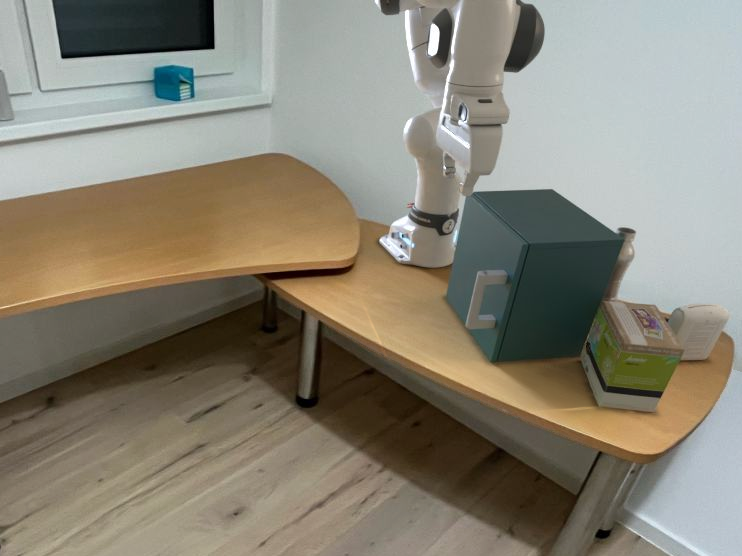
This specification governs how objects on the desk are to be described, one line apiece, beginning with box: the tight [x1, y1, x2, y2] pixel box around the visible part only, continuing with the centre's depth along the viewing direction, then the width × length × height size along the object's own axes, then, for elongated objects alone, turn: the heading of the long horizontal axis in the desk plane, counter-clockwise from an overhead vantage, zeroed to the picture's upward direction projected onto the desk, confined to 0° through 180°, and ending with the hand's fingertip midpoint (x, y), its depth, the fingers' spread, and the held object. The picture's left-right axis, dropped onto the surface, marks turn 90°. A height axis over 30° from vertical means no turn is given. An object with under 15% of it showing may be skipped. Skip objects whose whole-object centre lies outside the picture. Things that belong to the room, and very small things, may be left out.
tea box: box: [580, 300, 685, 413], centre depth 105 cm, size 15×10×15 cm
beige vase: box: [597, 226, 637, 313], centre depth 127 cm, size 6×7×20 cm
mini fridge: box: [473, 188, 625, 363], centre depth 120 cm, size 18×26×26 cm
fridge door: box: [445, 193, 529, 363], centre depth 118 cm, size 7×26×26 cm, turn 6°
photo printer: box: [667, 302, 730, 361], centre depth 114 cm, size 10×4×12 cm, turn 93°
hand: (456, 185), depth 99 cm, fingers open, 8 cm apart
